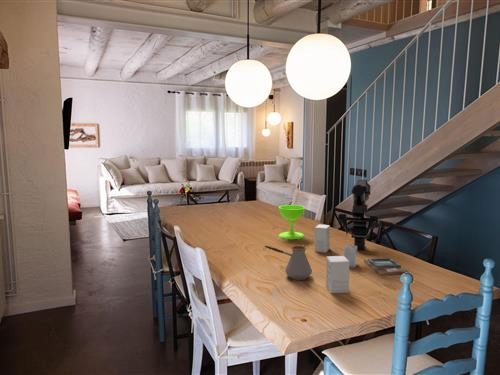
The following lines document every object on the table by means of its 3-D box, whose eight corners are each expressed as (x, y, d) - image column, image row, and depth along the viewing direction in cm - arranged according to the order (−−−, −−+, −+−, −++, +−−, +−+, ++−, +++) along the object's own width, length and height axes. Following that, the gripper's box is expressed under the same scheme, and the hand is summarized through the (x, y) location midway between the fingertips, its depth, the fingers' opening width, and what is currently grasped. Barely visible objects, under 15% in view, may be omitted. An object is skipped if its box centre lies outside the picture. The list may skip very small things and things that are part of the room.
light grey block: (345, 263, 184) (346, 244, 183) (356, 264, 182) (357, 245, 181) (344, 266, 180) (344, 247, 179) (355, 267, 178) (355, 248, 177)
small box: (318, 247, 211) (318, 224, 210) (329, 248, 209) (330, 225, 207) (314, 251, 204) (314, 227, 202) (326, 252, 201) (326, 228, 200)
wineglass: (304, 233, 243) (304, 205, 241) (305, 239, 227) (305, 209, 225) (278, 232, 245) (278, 204, 242) (278, 239, 229) (278, 209, 227)
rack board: (363, 261, 186) (364, 257, 186) (389, 260, 187) (390, 256, 187) (379, 274, 168) (380, 270, 168) (408, 273, 169) (408, 268, 169)
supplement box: (343, 285, 156) (344, 255, 154) (349, 293, 148) (349, 261, 147) (325, 286, 156) (326, 255, 154) (330, 293, 148) (330, 261, 147)
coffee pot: (305, 271, 173) (306, 238, 172) (316, 280, 162) (316, 245, 161) (260, 275, 168) (259, 242, 166) (267, 285, 157) (267, 249, 155)
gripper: (338, 197, 189) (335, 225, 181) (378, 199, 183) (377, 228, 174) (340, 209, 197) (337, 236, 189) (378, 211, 191) (377, 239, 183)
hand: (356, 234), depth 184 cm, fingers open, 9 cm apart
